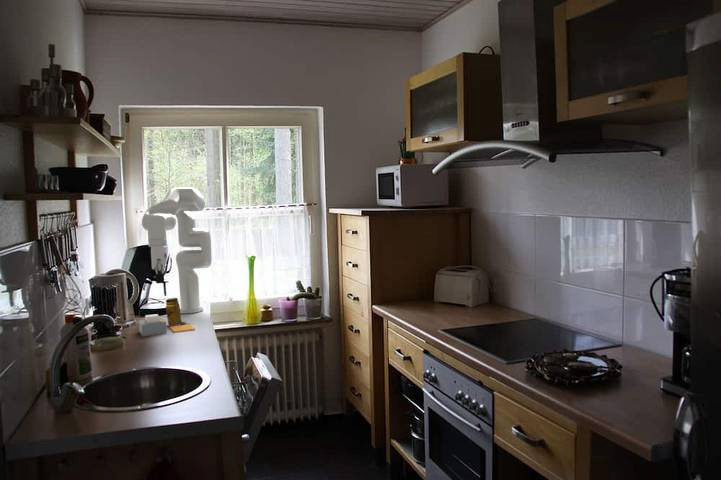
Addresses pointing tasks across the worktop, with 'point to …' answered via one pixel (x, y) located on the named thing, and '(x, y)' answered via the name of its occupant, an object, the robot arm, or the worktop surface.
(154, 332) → the box
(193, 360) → the worktop surface
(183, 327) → the lockout pad
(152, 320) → the button
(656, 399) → the worktop surface
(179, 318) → the condiment
